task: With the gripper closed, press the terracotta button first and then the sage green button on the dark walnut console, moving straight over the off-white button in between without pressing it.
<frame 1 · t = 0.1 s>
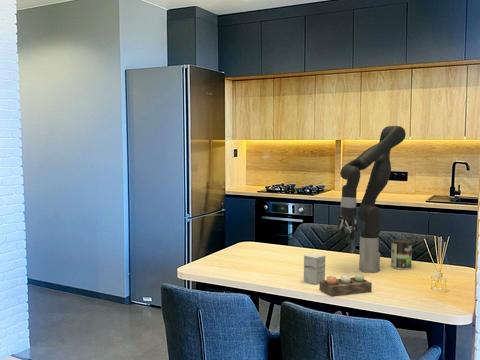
hand: (346, 238, 237), 17 cm above the table, tool pointing down, fingers open, 8 cm apart
offwhite button: (345, 279, 208), point 5 cm above the table, slide at 0.0 cm
sage button: (359, 278, 211), point 5 cm above the table, slide at 0.0 cm
supplement box: (314, 282, 223), on the table
console: (345, 290, 209), on the table
coffee can: (401, 267, 250), on the table
terracotta button: (331, 281, 206), point 5 cm above the table, slide at 0.0 cm
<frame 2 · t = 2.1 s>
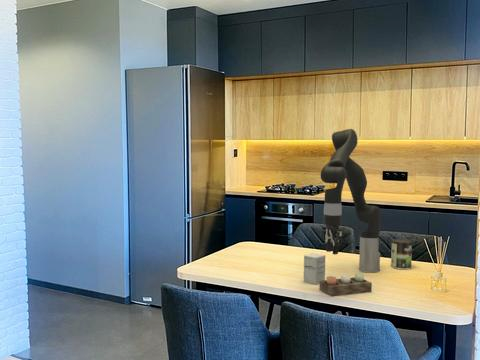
hand: (331, 252, 205), 17 cm above the table, tool pointing down, fingers open, 5 cm apart
nothing on the table moved.
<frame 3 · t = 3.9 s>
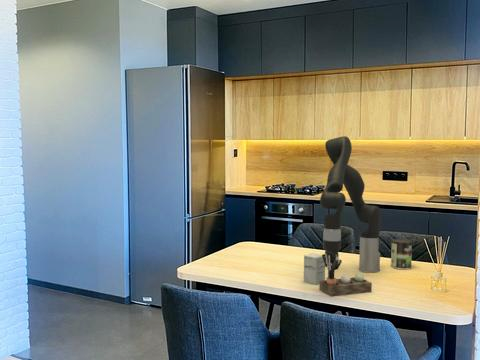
hand: (331, 278, 206), 6 cm above the table, tool pointing down, fingers closed
terracotta button: (331, 282, 206), point 5 cm above the table, slide at 0.4 cm, touching gripper
everything else where it was.
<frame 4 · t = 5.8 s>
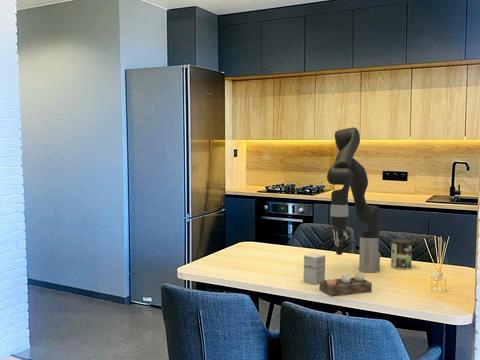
hand: (339, 254, 207), 16 cm above the table, tool pointing down, fingers closed
terracotta button: (331, 284, 206), point 4 cm above the table, slide at 1.4 cm
everything else where it was.
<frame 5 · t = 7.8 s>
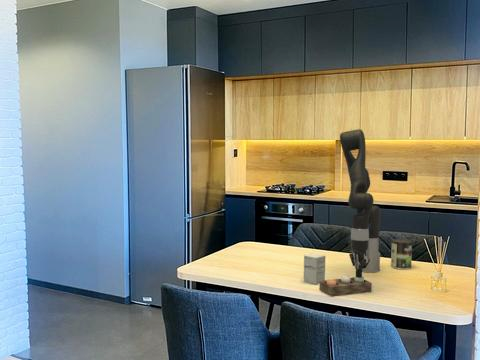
hand: (358, 277, 211), 5 cm above the table, tool pointing down, fingers closed
sage button: (359, 280, 211), point 4 cm above the table, slide at 1.0 cm, touching gripper
everything else where it was.
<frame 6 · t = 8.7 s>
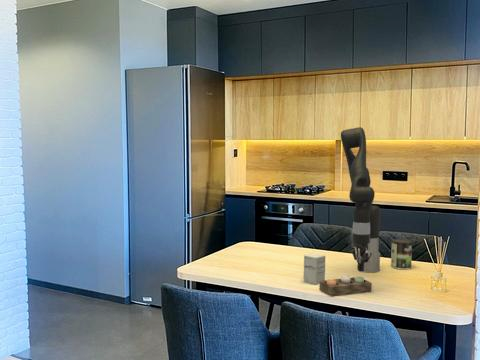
hand: (360, 271, 210), 8 cm above the table, tool pointing down, fingers closed
sage button: (359, 281, 211), point 3 cm above the table, slide at 1.4 cm
everything else where it was.
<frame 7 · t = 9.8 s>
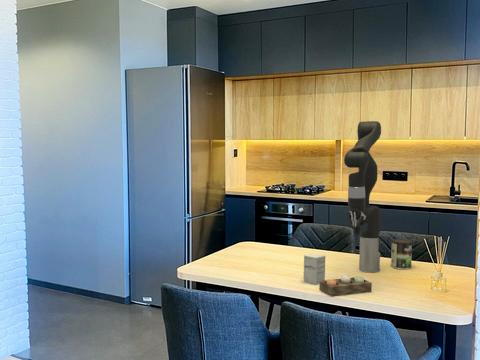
hand: (356, 234, 217), 23 cm above the table, tool pointing down, fingers closed
nothing on the table moved.
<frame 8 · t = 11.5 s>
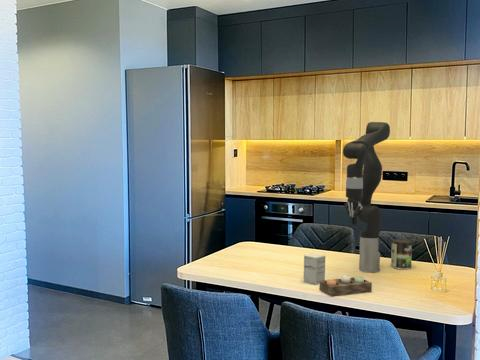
hand: (353, 224, 219), 27 cm above the table, tool pointing down, fingers closed
nothing on the table moved.
at the end: terracotta button slide at 1.4 cm; sage button slide at 1.4 cm; offwhite button slide at 0.0 cm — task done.
